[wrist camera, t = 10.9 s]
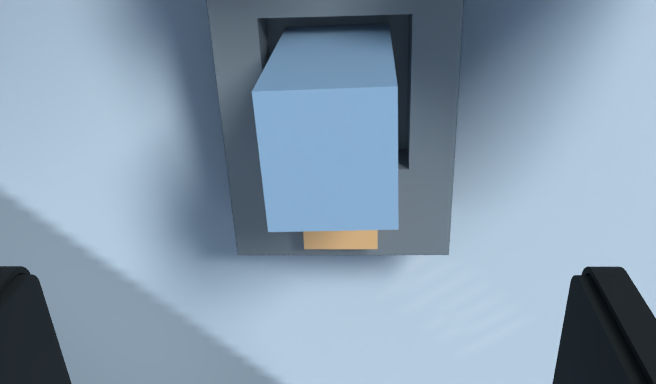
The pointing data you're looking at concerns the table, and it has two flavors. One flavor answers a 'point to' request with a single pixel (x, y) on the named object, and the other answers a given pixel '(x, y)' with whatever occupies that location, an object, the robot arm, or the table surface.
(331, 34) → the block
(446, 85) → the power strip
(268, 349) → the table surface
